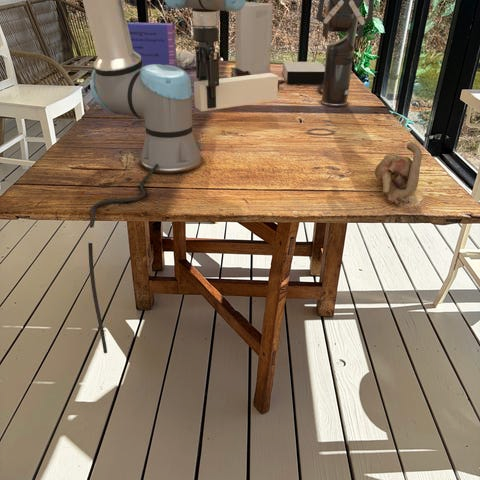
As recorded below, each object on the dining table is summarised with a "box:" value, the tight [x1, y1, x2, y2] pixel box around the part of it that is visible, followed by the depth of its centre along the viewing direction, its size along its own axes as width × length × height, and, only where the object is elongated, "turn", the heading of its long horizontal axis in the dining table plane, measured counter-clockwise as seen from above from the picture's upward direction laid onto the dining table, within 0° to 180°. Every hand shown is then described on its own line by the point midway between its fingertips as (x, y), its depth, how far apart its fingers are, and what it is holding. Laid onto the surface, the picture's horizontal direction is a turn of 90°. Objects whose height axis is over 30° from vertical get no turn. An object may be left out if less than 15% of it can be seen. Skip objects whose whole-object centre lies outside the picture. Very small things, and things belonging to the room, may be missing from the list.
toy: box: [176, 50, 196, 68], centre depth 223 cm, size 24×25×7 cm
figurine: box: [219, 66, 287, 88], centre depth 190 cm, size 24×8×30 cm
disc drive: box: [281, 61, 325, 85], centre depth 207 cm, size 18×22×5 cm
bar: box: [193, 72, 279, 112], centre depth 155 cm, size 28×5×8 cm, turn 116°
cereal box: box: [127, 21, 178, 67], centre depth 181 cm, size 17×5×24 cm, turn 86°
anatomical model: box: [374, 141, 423, 205], centre depth 107 cm, size 13×9×15 cm
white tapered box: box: [234, 1, 274, 75], centre depth 210 cm, size 19×15×28 cm
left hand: (208, 105), depth 153 cm, fingers closed on bar, 5 cm apart
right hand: (341, 39), depth 128 cm, fingers open, 8 cm apart
